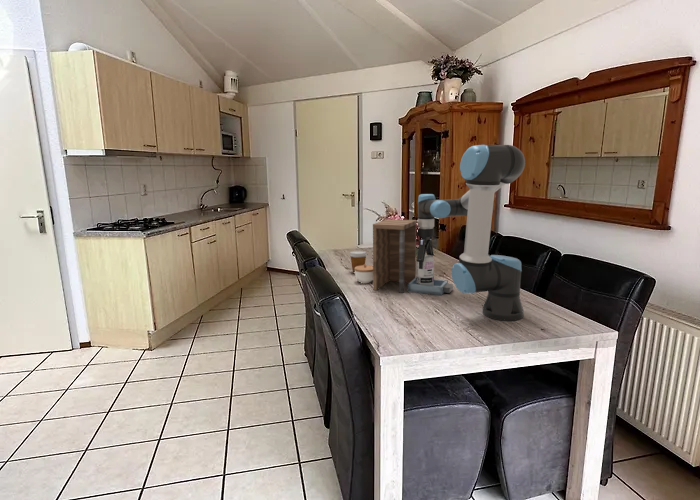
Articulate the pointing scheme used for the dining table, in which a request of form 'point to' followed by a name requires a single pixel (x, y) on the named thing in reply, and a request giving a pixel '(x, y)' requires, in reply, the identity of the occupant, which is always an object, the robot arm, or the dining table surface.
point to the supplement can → (426, 272)
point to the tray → (431, 287)
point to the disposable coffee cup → (357, 258)
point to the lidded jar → (364, 273)
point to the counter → (394, 252)
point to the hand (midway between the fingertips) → (425, 272)
